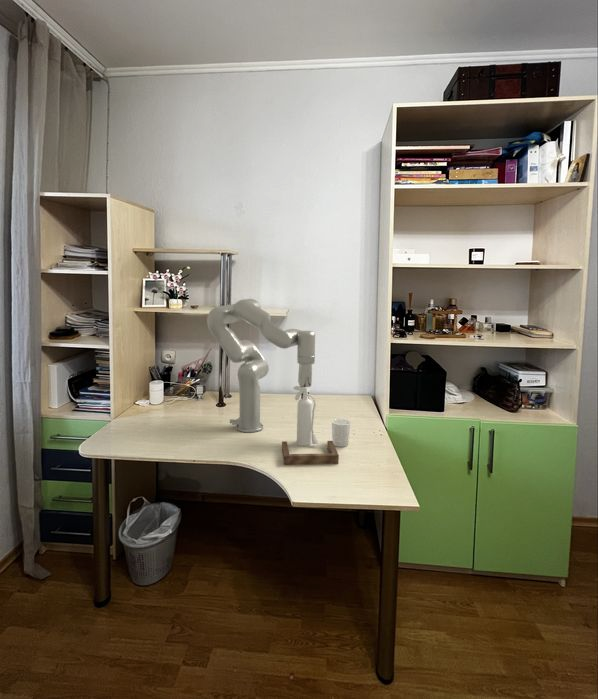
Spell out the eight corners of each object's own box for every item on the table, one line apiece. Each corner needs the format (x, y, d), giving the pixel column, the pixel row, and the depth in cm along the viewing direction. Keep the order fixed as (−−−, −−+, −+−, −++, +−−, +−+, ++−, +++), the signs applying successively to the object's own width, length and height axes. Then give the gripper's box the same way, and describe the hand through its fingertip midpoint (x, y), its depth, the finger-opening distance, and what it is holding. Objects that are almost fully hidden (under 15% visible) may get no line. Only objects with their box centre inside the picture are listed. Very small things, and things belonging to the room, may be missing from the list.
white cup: (348, 440, 202) (349, 418, 200) (350, 447, 194) (351, 425, 192) (330, 440, 201) (331, 418, 200) (332, 447, 194) (332, 424, 192)
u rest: (284, 464, 176) (284, 456, 175) (281, 449, 190) (282, 441, 190) (338, 463, 178) (338, 455, 177) (331, 448, 192) (332, 440, 192)
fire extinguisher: (312, 449, 190) (313, 390, 187) (290, 443, 198) (290, 386, 194) (321, 445, 196) (323, 388, 192) (299, 439, 203) (300, 383, 200)
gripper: (295, 356, 204) (294, 396, 207) (299, 363, 190) (298, 405, 193) (312, 356, 205) (311, 395, 208) (317, 363, 190) (315, 405, 194)
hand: (305, 400), depth 201 cm, fingers closed
